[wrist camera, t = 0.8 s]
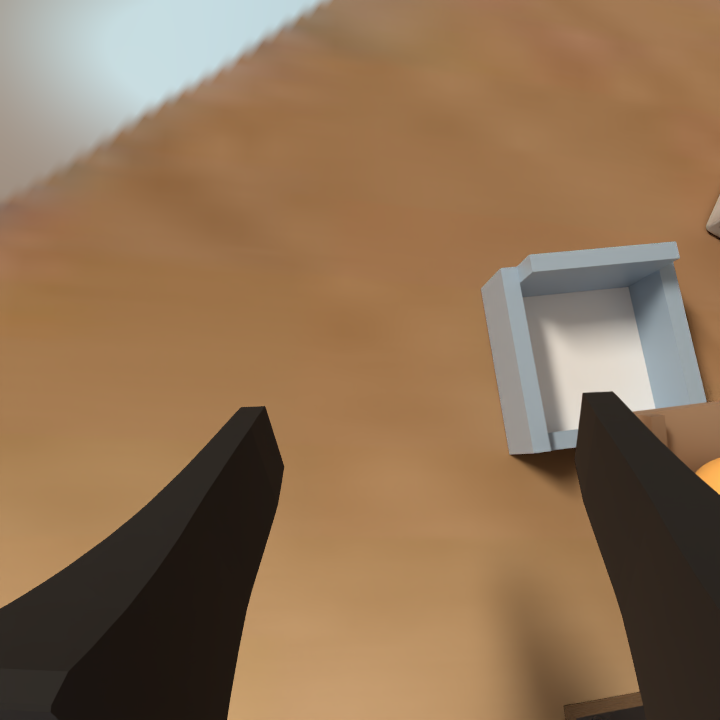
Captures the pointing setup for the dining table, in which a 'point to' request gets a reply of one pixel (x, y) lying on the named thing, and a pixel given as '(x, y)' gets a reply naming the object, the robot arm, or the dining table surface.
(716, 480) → the ball
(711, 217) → the coffee box
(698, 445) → the lever
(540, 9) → the dining table surface
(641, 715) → the fulcrum
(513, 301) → the shallow blue tray
